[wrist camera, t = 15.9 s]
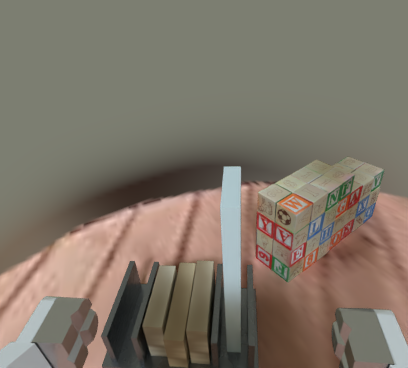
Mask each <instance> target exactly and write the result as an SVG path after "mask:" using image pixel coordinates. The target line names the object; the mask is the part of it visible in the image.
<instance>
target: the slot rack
mask: <svg viewBox="0 0 408 368" xmlns="http://www.w3.org/2000/svg"><path fill="white" fill-rule="evenodd" d="M158 269H159V262H154V264H153V267H152V270H151V274H150V277H149V280H148V283H147V284H141V283H140V279H139V275H138V271H137V268H136V264H135V261H130V263H129V266H128V268H127V271H126V273H125V276H124V278H123V281H122V284H121V286H120V289H119V291H118V294H117V296H116V299H115V302H114V304H113V307H112V309H111V312H110V314H109V317H108V320H107V322H106V325H105V327H104V330H103V332H102V335H101V337H102V339H103V342H104V344H105V346H106V349H107V353H106V356H105V359H104V361H103V364H102V368H186V367H173V366H169V362H168V358H167V357H166V356H151V354H150V351H149V347H148V344H147V341H146V337H145V334H144V331H143V327H142V325H143V322H144V318H145V315H146V311H147V308H148V304H149V301H150V297H151V294H152V290H153V287H154V283H155V280H156V276H157V273H158ZM215 288H216V289H215V301H214V312H213V324H212V335H211V358H210V364H198V363H191V358H190V357H189V364H188V368H258V342H257V317H256V291H255V289H253V270H252V265H247V288H241V353H239V352H227V341H226V319H225V298H224V284H223V264H218V266H217V278H216V287H215Z"/></svg>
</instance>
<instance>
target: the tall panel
mask: <svg viewBox="0 0 408 368" xmlns="http://www.w3.org/2000/svg"><path fill="white" fill-rule="evenodd" d="M220 212H221V234H222V255H223V276H224V298H225V319H226V341H227V352H239V353H241V167H224V174H223V184H222V195H221V205H220Z"/></svg>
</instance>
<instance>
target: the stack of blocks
mask: <svg viewBox="0 0 408 368" xmlns="http://www.w3.org/2000/svg"><path fill="white" fill-rule="evenodd" d="M383 173H384V169H381V168H379V167H376V166H373V165H371V164H368V163H364V162H362V161H359V160H357V159H354V158H351V157H346V158H345V159H343V160H341V161H340V162H338V163H336V164H334V165H332V166H331V165H329V164H326V163H324V162H322V161H319V160H315V161H313V162H311V163H310V164H308V165H306V166H305V167H303V168H301V169H300V170H298V171H297V172H294V173H293V174H291V175H289V176H287V177H286V178H284V179H282V180H280V181H278V182H277V183H275V184H272V185H270V186H269V187H267V188H265V189H263V190H261V191H259V192H258V211H257V244H256V258H257V259H258V260H260V261H261V262H262V263H263V264H265V265H266V266H267V267H269V268H270V269H272V270H273V271H274V272H275V273H277V274H278V275H279V276H280V277H282V278H283V279H284V280H285V281H287V282H290V281H291V280H292V279H293V278H295V277H296V276H297V275H299V274H300V273H301V272H303V271H305V270H306V269H307V268H308V267H310V266H311V265H312V264H313V263H315V262H316V261H317V260H319V259H320V258H321V257H322V256H324V255H325V254H326V253H327V252H328V251H329V250H330V249H331V248H332V247H334V246H335V245H336V244H338V243H339V242H340V241H341V240H342V239H343V238H345V237H346V236H347V235H348V234H350V233H351V232H353V231H354V230H356V229H357V228H358V227H359V226H361V225H362V224H363V223H364V222H365V221H367V220H368V219H369V218H370V217H372V215H373V211H374V208H375V204H376V201H377V197H378V194H379V190H380V184H381V180H382V177H383Z"/></svg>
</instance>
